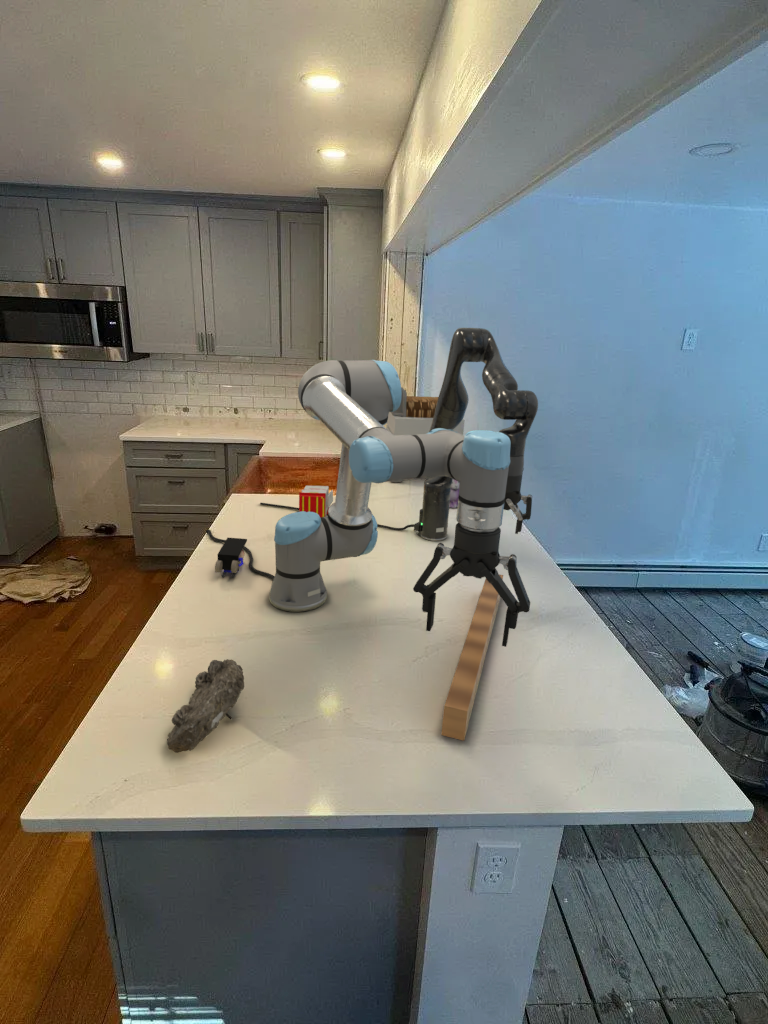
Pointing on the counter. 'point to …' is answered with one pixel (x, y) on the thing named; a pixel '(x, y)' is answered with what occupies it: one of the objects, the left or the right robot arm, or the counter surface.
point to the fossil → (206, 705)
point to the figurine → (454, 494)
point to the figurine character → (230, 556)
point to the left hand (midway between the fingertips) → (466, 634)
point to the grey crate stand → (414, 416)
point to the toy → (315, 499)
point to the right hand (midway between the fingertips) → (500, 530)
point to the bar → (470, 665)
